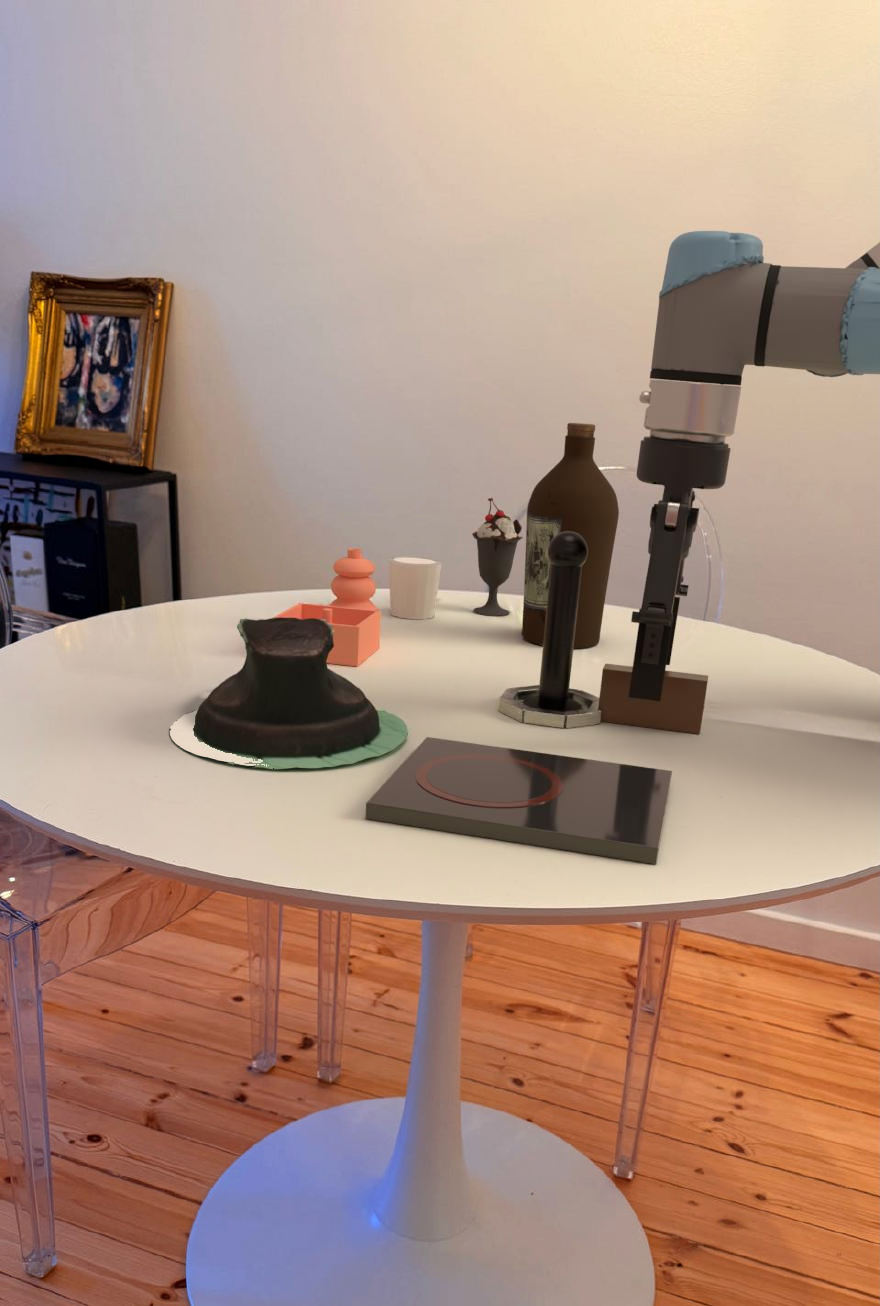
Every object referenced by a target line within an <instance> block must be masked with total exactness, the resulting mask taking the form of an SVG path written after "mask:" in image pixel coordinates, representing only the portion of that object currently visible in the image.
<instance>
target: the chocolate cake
mask: <svg viewBox="0 0 880 1306" xmlns="http://www.w3.org/2000/svg"><path fill="white" fill-rule="evenodd" d="M273 617H274V618H273ZM273 617H271V618H267V619H264V618H261V619H252V618H251V619H249V618H240V619H239V622H238V623H237V625H236V629H237V630H238V633H239V636H240V637H241V638H242V639H243V641H244V645H245V646H244V647H245V653H246V657H245V661H244V664H243V665H242V667H241V669H240V670H239V671H237V672H236V673H234V674H232V675H230V676H229V677H227V678H226V679H224V681H222V682H221V683H219V684H218V685H217V686H215V688H214V689H212V691H211V692H210V693H209V694H208V696H207V698H205V699H204V700H203V701H202V703H200V704H199V706H198V707H197V709H198V710H197V713H196V715H195V725H194V728H193V731H194V736H195V737H197V739H198V741H199V742H204V743H205V744H207V745H209V746H210V747H212V748H215V749H217V750H220V751H223V752H225V753H232V754H236V755H237V756H241V757H246V758H252V759H253V761H254V759H255V761H258V759H261V760H263V762H261V763H252V762H249V763H245V764H256V765H254V766H255V767H254V768H264V769H268V770H285V769H293V768H300V769H321V768H334V767H338V766H343V765H352V764H356V763H358V762H361V761H363V760H365V759H369V758H375V757H381V756H382V755H384V754H386V753H389V752H391V751H394V750H395V749H396V748H397V747H399V746H400V745H401V744H403V742H404V741H405V740H406V739H407V737H408V734H409V729H408V725H407V724H406V722H405V720H403V719H402V718H401V717H400V716H398V715H396V714H394V713H390V712H387V711H386V710H380V709H376V707H375V705H374V704H373V703H372V702H371V700H370V699H369V698H368V697H366V695H365V693H364V691H363V690H362V689H361V688H360V687H358V686H357V685H355V684H354V683H353V682H352V681H350V680H349V679H348V678H346V677H344V676H343V675H341V674H338V673H336V672H335V671H334V670H331V669H330V668H329V667H328V663H327V662H326V661H327V658H328V654H329V652H330V651H331V650H332V648H333V647H334V642H333V633H334V631H331V629H332V628H333V625H328V624H327V621H326V620H325V619H324V620H319V619H315V618H310V619H303V620H302V619H298V618H280V617H278V618H275V616H273ZM233 763H234V762H228V763H227V764H230V765H234V764H233ZM257 764H259V765H257ZM261 764H265V766H264V765H261ZM266 764H267V767H266ZM268 765H269V766H268ZM273 768H274V769H273Z"/></svg>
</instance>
